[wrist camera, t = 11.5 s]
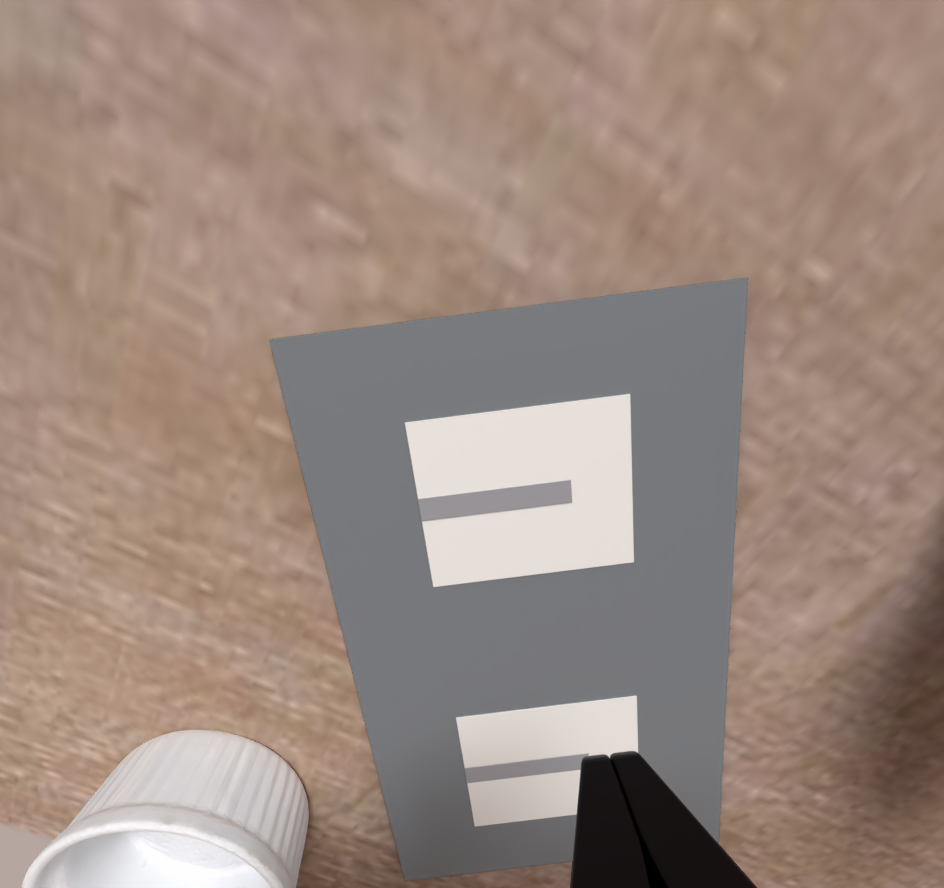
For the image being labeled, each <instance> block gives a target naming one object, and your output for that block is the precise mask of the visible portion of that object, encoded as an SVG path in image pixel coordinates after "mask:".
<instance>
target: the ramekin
mask: <svg viewBox="0 0 944 888" xmlns="http://www.w3.org/2000/svg"><path fill="white" fill-rule="evenodd" d="M308 820H309V810H308V800H307V796H306V792H305V789H304V787H303V785H302V782H301V780H300V779H299V777H298V776H297V774H296V773H295V771H294V770H293V769H292V768H291V767H290V766H289V764H288V763H287V762H286V761H285V760H283V759H282V758H281V757H280V756H279V755H277V754H276V753H275V752H273V751H272V750H270V749H269V748H267V747H265V746H263V745H262V744H260V743H258V742H255V741H253V740H251V739H248V738H245V737H243V736H239V735H236V734H232V733H228V732H223V731H217V730H183V731H176V732H171V733H168V734H164V735H161V736H158V737H156V738H153V739H151V740H149V741H147V742H145V743H144V744H142V745H140V746H139V747H137V748H136V749H134V750H133V751H132V752H131V753H130V754H128V755H127V756H126V757H125V758H124V759H123V760H122V761H121V763H120V764H119V765H118V766H117V767H116V768H115V769H114V770H113V772H112V773H111V774H110V775H109V776H108V778H107V779H106V780H105V781H104V783H103V784H102V785H101V786H100V788H99V789H98V790H97V791H96V793H95V794H94V795H93V796H92V798H91V799H90V800H89V801H88V802H87V804H86V805H85V806H84V807H83V809H82V810H81V811H80V812H79V813H78V815H77V816H76V817H75V818H74V820H73V821H72V822H71V823H70V825H69V826H68V827H67V828H66V829H65V830H64V831H63V832H61V833H60V834H59V835H58V836H57V837H56V838H54V839H53V840H52V841H51V842H50V843H49V844H48V845H47V846H46V847H45V849H43V851H42V852H41V853H40V854H39V855H38V856H37V858H36V859H35V860H34V862H33V863H32V864H31V866H30V868H29V869H28V871H27V873H26V875H25V878H24V881H23V883H22V887H21V888H296V885H297V880H298V874H299V869H300V865H301V860H302V855H303V850H304V845H305V840H306V834H307V827H308Z"/></svg>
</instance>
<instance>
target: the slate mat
mask: <svg viewBox="0 0 944 888" xmlns="http://www.w3.org/2000/svg"><path fill="white" fill-rule="evenodd" d="M747 286H748V278H740V279H732V280H725V281H717V282H709V283H701V284H694V285H686V286H678V287H670V288H663V289H655V290H647V291H640V292H632V293H624V294H616V295H609V296H601V297H593V298H585V299H578V300H570V301H562V302H554V303H547V304H539V305H531V306H523V307H516V308H508V309H500V310H492V311H485V312H477V313H469V314H461V315H454V316H446V317H438V318H430V319H423V320H415V321H407V322H399V323H392V324H384V325H376V326H368V327H361V328H353V329H345V330H338V331H330V332H322V333H314V334H307V335H299V336H291V337H283V338H276V339H270V340H269V341H270V345H271V349H272V353H273V357H274V361H275V365H276V369H277V373H278V377H279V381H280V385H281V389H282V393H283V397H284V401H285V405H286V409H287V413H288V417H289V421H290V425H291V429H292V433H293V437H294V441H295V445H296V449H297V453H298V457H299V461H300V465H301V469H302V473H303V477H304V481H305V485H306V489H307V493H308V497H309V501H310V505H311V509H312V513H313V517H314V521H315V525H316V529H317V533H318V537H319V541H320V545H321V549H322V553H323V557H324V561H325V565H326V569H327V573H328V577H329V581H330V585H331V589H332V593H333V597H334V601H335V605H336V609H337V613H338V617H339V621H340V625H341V629H342V633H343V637H344V641H345V645H346V649H347V653H348V657H349V661H350V665H351V669H352V673H353V677H354V681H355V685H356V689H357V693H358V697H359V701H360V705H361V709H362V713H363V717H364V721H365V725H366V729H367V733H368V737H369V741H370V745H371V749H372V753H373V757H374V761H375V765H376V769H377V773H378V777H379V781H380V785H381V789H382V793H383V797H384V801H385V805H386V809H387V813H388V817H389V821H390V825H391V829H392V833H393V837H394V841H395V845H396V849H397V853H398V857H399V861H400V865H401V869H402V873H403V877H404V881H412V880H420V879H429V878H437V877H446V876H454V875H463V874H471V873H479V872H488V871H496V870H505V869H513V868H522V867H530V866H538V865H547V864H555V863H564V862H572V861H573V850H574V838H575V827H576V816H577V804H578V793H579V782H580V770H581V761H582V759H583V758H584V757H585V756H593V755H601V754H605V755H607V756H609V758H610V755H611V754H613V753H618V752H626V751H636V752H638V753H639V754H640V755H641V756H642V757H643V758H644V759H645V760H646V762H647V763H648V764H649V765H650V766H651V767H652V768H653V770H654V771H655V772H656V773H657V774H658V775H659V776H660V777H661V779H662V780H663V781H664V782H665V783H666V784H667V785H668V787H669V788H670V789H671V790H672V791H673V792H674V793H675V795H676V796H677V797H678V798H679V799H680V800H681V801H682V803H683V804H684V805H685V806H686V807H687V808H688V809H689V811H690V812H691V813H692V814H693V815H694V816H695V817H696V819H697V820H698V821H699V822H700V823H701V824H702V825H703V826H704V828H705V829H706V830H707V831H708V832H709V833H710V834H711V836H712V837H713V838H714V839H715V840H716V841H717V842H718V844H719V829H720V809H721V790H722V770H723V751H724V732H725V712H726V693H727V674H728V654H729V635H730V615H731V596H732V577H733V557H734V538H735V519H736V499H737V480H738V460H739V441H740V422H741V402H742V383H743V364H744V344H745V325H746V305H747Z"/></svg>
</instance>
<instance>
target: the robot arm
mask: <svg viewBox="0 0 944 888" xmlns="http://www.w3.org/2000/svg"><path fill="white" fill-rule="evenodd" d="M570 888H757V887H756V886H755V885H754V883H753V882H752V881H751V880H750V879H749V878H748V877H747V876H746V874H745V873H744V872H743V871H742V870H741V869H740V868H739V866H738V865H737V864H736V863H735V862H734V861H733V860H732V858H731V857H730V856H729V855H728V854H727V853H726V852H725V850H724V849H723V848H722V847H721V846H720V845H719V844H718V842H717V841H716V840H715V839H714V838H713V837H712V836H711V834H710V833H709V832H708V831H707V830H706V829H705V828H704V826H703V825H702V824H701V823H700V822H699V821H698V820H697V819H696V817H695V816H694V815H693V814H692V813H691V812H690V811H689V809H688V808H687V807H686V806H685V805H684V804H683V803H682V801H681V800H680V799H679V798H678V797H677V796H676V795H675V793H674V792H673V791H672V790H671V789H670V788H669V787H668V785H667V784H666V783H665V782H664V781H663V780H662V779H661V777H660V776H659V775H658V774H657V773H656V772H655V771H654V770H653V768H652V767H651V766H650V765H649V764H648V763H647V762H646V760H645V759H644V758H643V757H642V756H641V755H640V754H639V753H638V752H636V751H626V752H618V753H613V754H611V755H610V758H609V756H607V755H605V754H601V755H593V756H585V757H584V758H583V759H582V761H581V770H580V782H579V793H578V804H577V816H576V827H575V838H574V850H573V861H572V872H571V883H570Z"/></svg>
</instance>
